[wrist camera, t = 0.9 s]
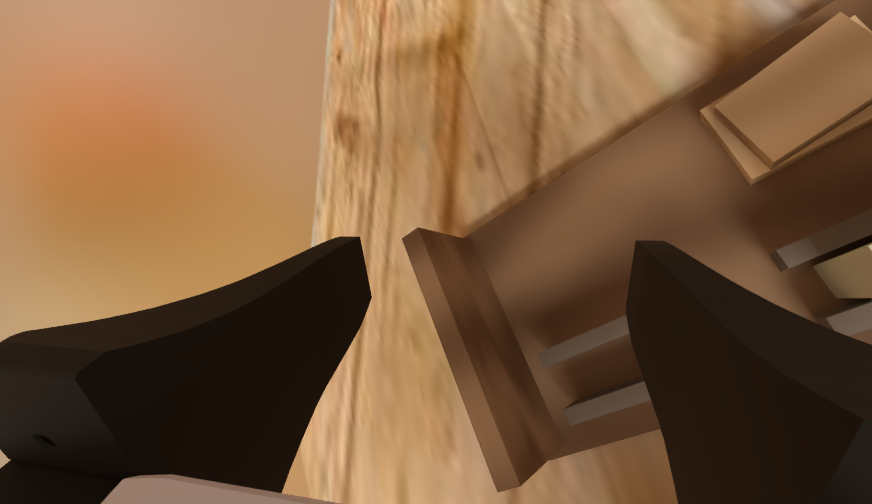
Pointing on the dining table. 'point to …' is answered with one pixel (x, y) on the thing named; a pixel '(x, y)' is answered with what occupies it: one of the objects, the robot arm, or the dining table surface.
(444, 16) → the dining table surface
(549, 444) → the rack
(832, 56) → the offcut upper
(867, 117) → the offcut lower
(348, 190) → the dining table surface
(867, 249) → the beige flat block
